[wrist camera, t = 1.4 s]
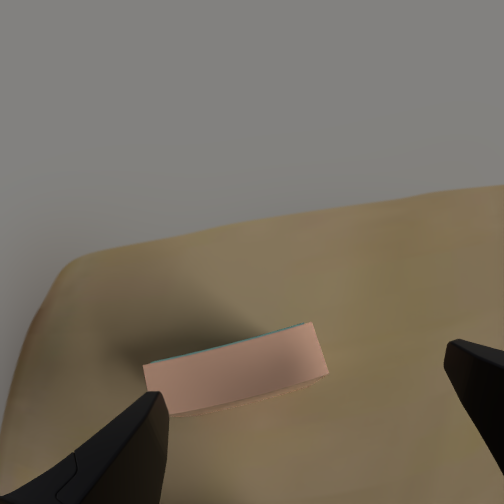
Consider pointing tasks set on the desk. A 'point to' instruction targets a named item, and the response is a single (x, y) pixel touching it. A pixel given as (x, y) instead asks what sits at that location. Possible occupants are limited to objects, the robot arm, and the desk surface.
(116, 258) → the desk surface
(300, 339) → the tile
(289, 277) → the desk surface
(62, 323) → the desk surface
